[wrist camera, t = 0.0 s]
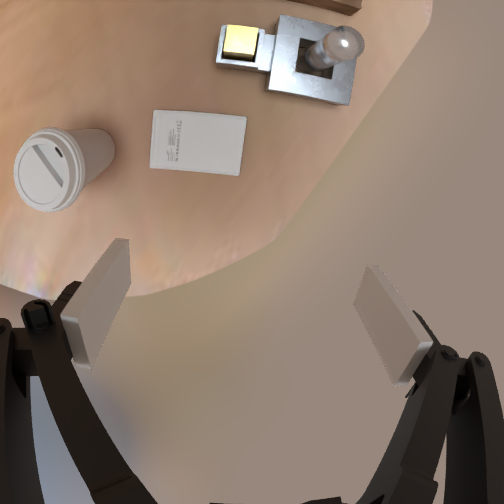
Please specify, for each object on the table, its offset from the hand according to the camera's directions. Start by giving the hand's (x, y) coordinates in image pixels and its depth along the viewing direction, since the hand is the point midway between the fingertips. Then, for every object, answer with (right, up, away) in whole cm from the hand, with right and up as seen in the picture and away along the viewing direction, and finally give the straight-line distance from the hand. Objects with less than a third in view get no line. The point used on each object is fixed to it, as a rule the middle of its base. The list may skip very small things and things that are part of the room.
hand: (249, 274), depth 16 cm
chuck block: (+4, +27, +18) cm, 33 cm away
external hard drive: (-7, +16, +24) cm, 30 cm away
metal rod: (+7, +26, +19) cm, 33 cm away
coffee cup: (-22, +16, +22) cm, 35 cm away
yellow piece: (-1, +26, +15) cm, 30 cm away
